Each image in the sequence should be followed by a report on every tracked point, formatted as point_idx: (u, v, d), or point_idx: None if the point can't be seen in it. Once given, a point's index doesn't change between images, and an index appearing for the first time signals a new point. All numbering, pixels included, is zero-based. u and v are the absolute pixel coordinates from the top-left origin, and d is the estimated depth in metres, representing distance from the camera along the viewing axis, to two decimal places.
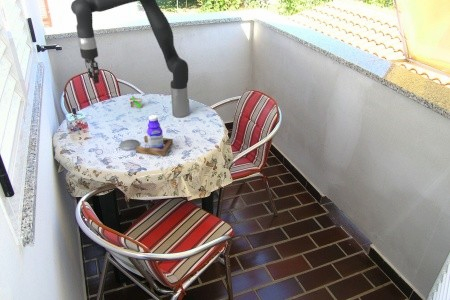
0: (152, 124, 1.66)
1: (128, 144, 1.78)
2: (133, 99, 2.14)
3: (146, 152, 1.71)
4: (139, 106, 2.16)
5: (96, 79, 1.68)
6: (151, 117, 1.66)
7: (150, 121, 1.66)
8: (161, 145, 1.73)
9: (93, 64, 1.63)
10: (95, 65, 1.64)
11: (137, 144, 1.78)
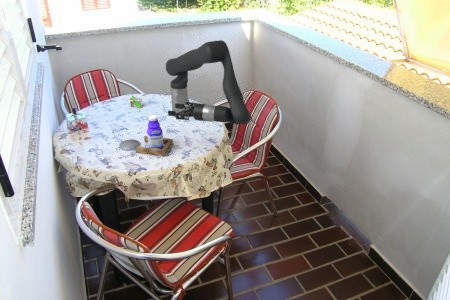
0: (152, 124, 1.66)
1: (128, 144, 1.78)
2: (133, 99, 2.14)
3: (146, 152, 1.71)
4: (139, 106, 2.16)
5: None
6: (151, 117, 1.66)
7: (150, 121, 1.66)
8: (161, 145, 1.73)
9: None
10: None
11: (137, 144, 1.78)
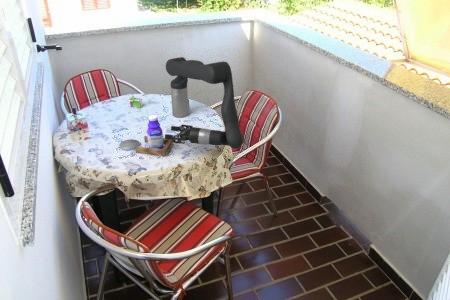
0: (152, 124, 1.66)
1: (128, 144, 1.78)
2: (133, 99, 2.14)
3: (146, 152, 1.71)
4: (139, 106, 2.16)
5: None
6: (151, 117, 1.66)
7: (150, 121, 1.66)
8: (161, 145, 1.73)
9: None
10: None
11: (137, 144, 1.78)
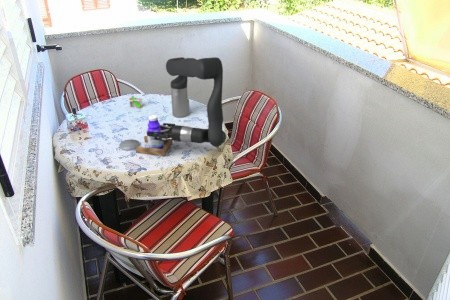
0: (152, 124, 1.66)
1: (128, 144, 1.78)
2: (133, 99, 2.14)
3: (146, 152, 1.71)
4: (139, 106, 2.16)
5: None
6: (151, 117, 1.66)
7: (150, 121, 1.66)
8: (161, 145, 1.73)
9: None
10: None
11: (137, 144, 1.78)
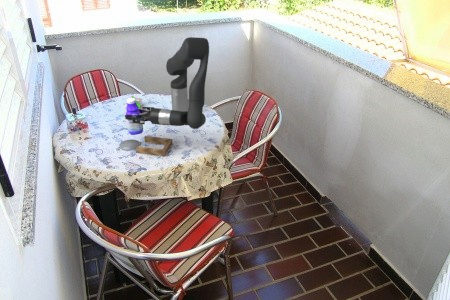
0: (130, 107, 1.64)
1: (128, 144, 1.78)
2: None
3: (146, 152, 1.71)
4: (138, 106, 2.16)
5: None
6: (129, 100, 1.64)
7: (128, 104, 1.64)
8: (140, 129, 1.71)
9: None
10: None
11: (137, 144, 1.78)
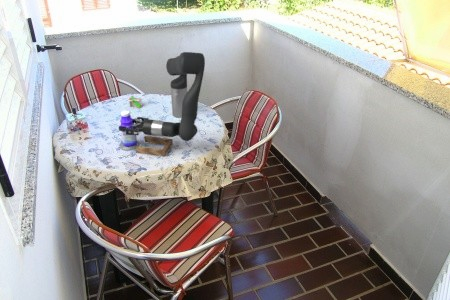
0: (124, 120, 1.69)
1: None
2: (132, 99, 2.14)
3: (146, 152, 1.71)
4: (138, 106, 2.16)
5: None
6: (123, 113, 1.68)
7: (122, 117, 1.68)
8: (134, 141, 1.75)
9: None
10: None
11: (137, 144, 1.78)
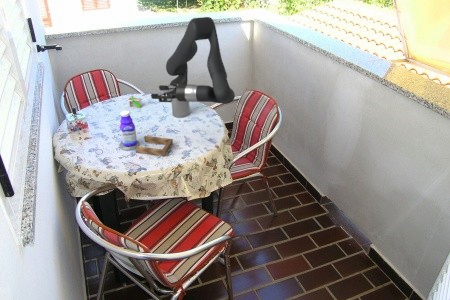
0: (124, 120, 1.69)
1: None
2: (132, 99, 2.14)
3: (146, 152, 1.71)
4: (138, 106, 2.16)
5: None
6: (123, 113, 1.68)
7: (122, 117, 1.68)
8: (134, 141, 1.75)
9: None
10: None
11: (137, 144, 1.78)
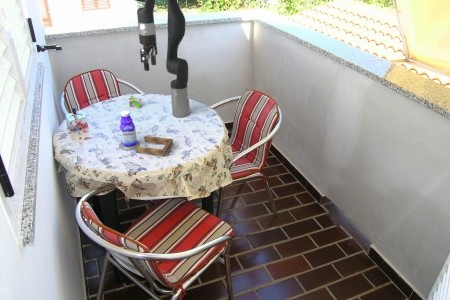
0: (124, 120, 1.69)
1: None
2: (132, 99, 2.14)
3: (146, 152, 1.71)
4: (138, 106, 2.16)
5: None
6: (123, 113, 1.68)
7: (122, 117, 1.68)
8: (134, 141, 1.75)
9: None
10: None
11: (137, 144, 1.78)
